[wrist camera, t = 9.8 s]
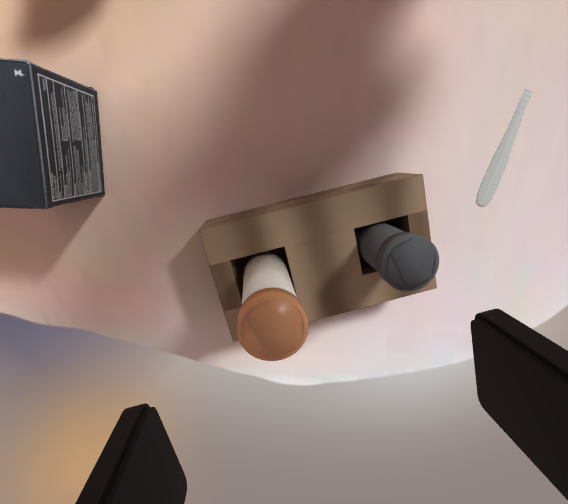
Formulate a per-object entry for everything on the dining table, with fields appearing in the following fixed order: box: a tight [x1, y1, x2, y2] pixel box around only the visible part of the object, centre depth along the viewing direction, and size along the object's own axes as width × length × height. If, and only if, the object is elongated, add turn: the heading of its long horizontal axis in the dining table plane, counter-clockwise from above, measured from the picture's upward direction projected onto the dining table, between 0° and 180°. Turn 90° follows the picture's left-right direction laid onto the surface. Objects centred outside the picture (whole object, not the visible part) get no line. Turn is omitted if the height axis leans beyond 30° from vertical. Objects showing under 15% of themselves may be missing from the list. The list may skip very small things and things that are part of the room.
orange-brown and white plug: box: [237, 253, 308, 361], centre depth 29 cm, size 5×5×12 cm
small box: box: [0, 58, 105, 209], centre depth 29 cm, size 11×6×10 cm, turn 177°
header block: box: [199, 173, 437, 342], centre depth 37 cm, size 22×12×6 cm, turn 104°
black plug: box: [354, 222, 439, 292], centre depth 34 cm, size 5×5×12 cm
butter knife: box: [476, 89, 531, 206], centre depth 37 cm, size 1×27×3 cm
